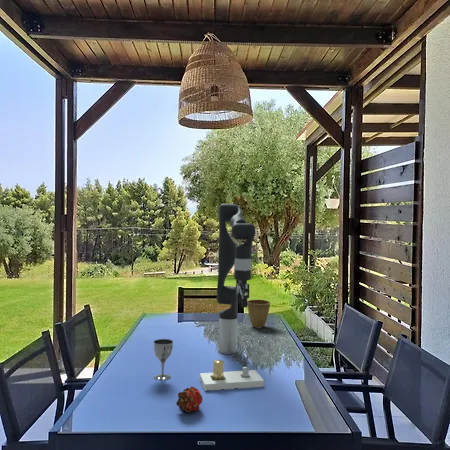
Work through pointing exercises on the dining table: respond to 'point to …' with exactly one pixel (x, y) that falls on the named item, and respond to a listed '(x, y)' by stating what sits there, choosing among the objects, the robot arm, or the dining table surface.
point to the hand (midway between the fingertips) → (242, 305)
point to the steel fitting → (245, 372)
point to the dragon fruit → (189, 399)
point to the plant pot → (258, 312)
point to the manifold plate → (231, 380)
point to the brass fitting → (218, 370)
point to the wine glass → (163, 355)
